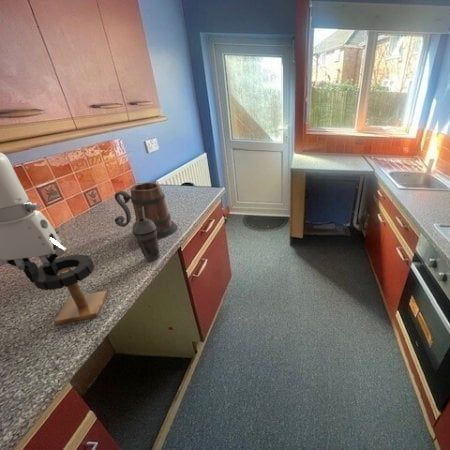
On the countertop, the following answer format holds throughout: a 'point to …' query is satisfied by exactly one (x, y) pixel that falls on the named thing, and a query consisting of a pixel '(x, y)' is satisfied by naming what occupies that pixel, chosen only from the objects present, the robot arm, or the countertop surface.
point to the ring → (59, 281)
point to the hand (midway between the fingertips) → (45, 277)
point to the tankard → (147, 207)
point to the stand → (80, 304)
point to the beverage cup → (147, 237)
